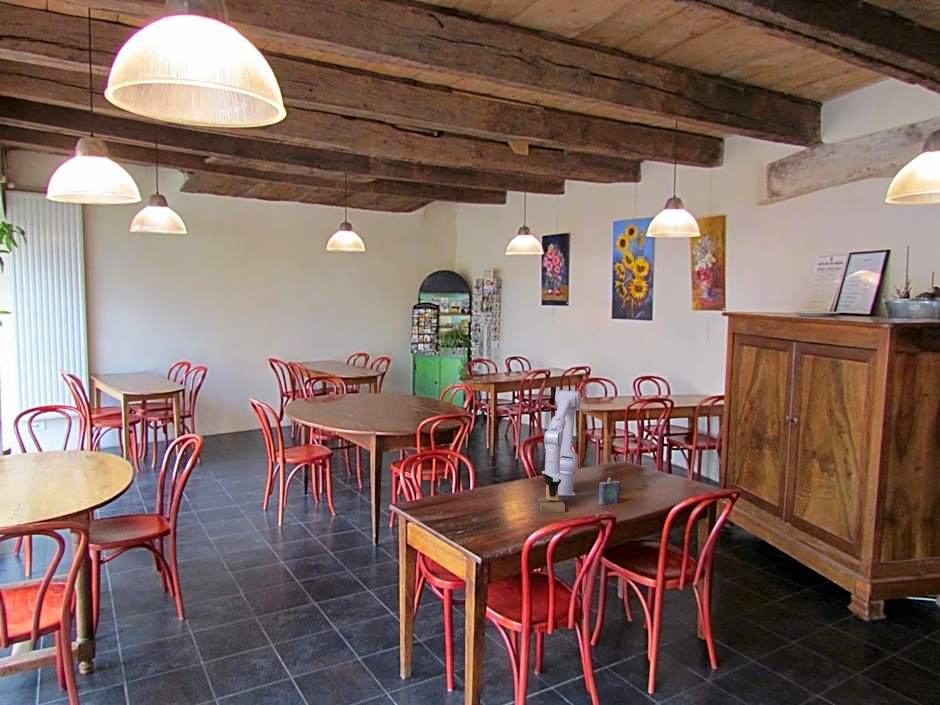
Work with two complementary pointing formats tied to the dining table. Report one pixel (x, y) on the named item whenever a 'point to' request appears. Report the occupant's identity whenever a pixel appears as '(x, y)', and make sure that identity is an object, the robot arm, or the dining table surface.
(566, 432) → the robot arm
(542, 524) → the dining table surface
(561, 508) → the base
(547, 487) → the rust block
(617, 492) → the flask
